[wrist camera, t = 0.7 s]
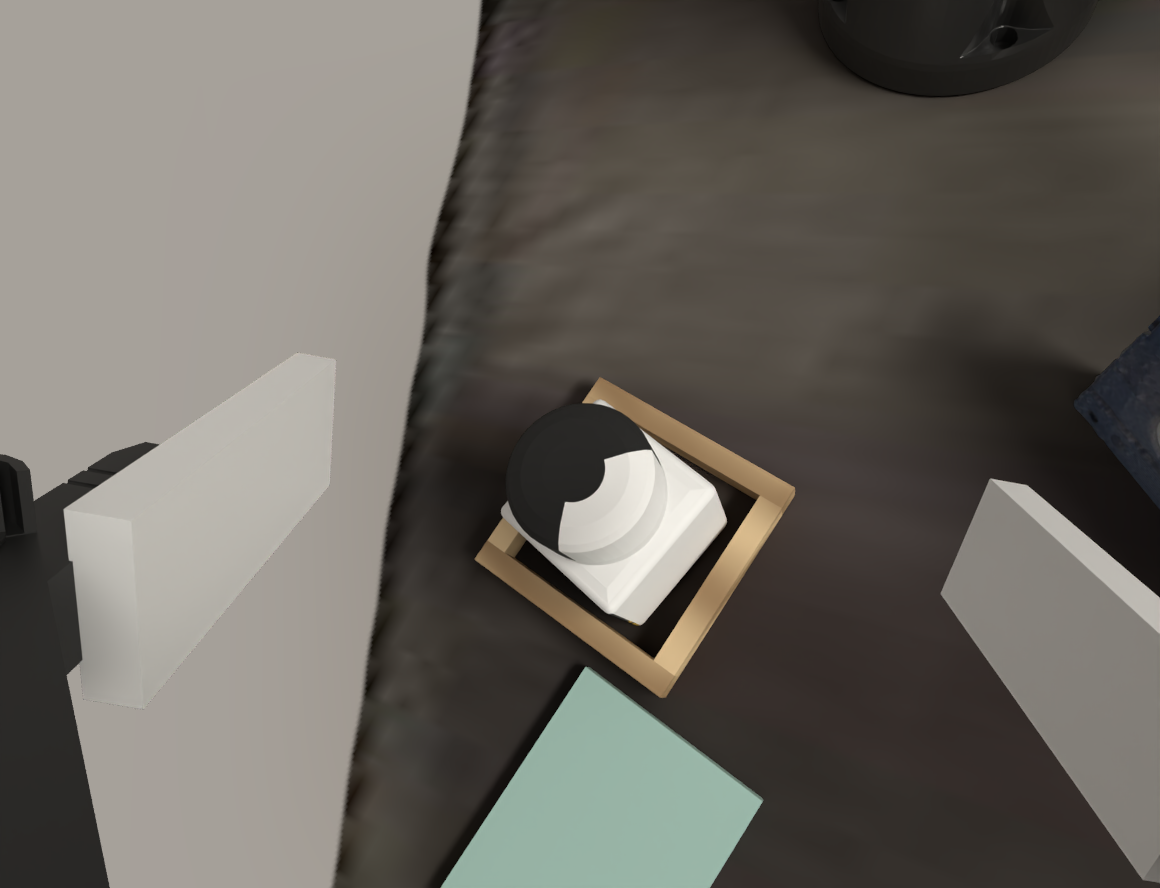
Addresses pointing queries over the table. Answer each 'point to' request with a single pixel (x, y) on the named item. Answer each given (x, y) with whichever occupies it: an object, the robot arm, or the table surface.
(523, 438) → the medicine bottle
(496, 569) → the oak cradle
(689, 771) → the rubber mat
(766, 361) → the table surface
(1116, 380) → the vhs cassette tape
